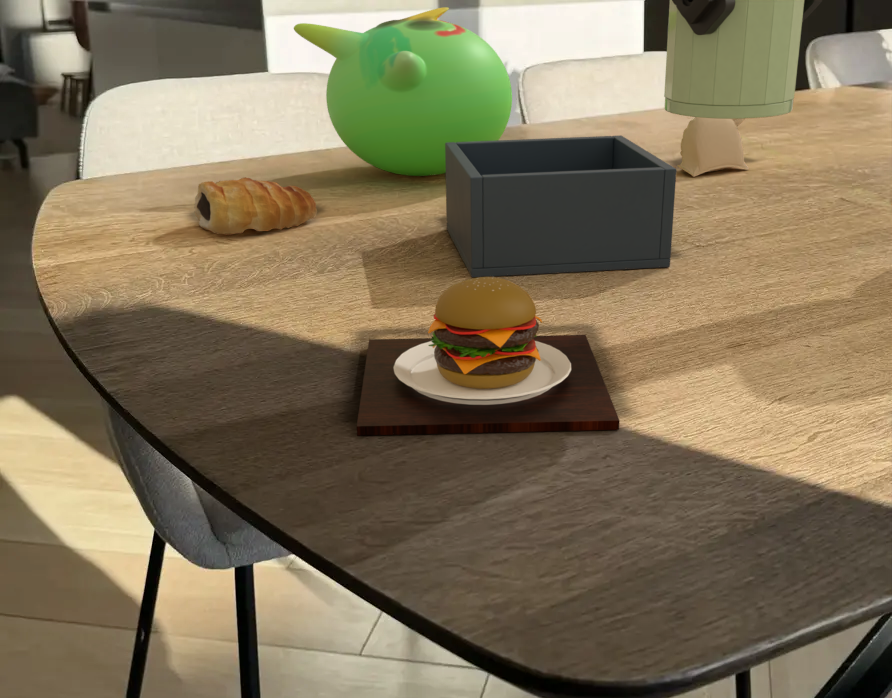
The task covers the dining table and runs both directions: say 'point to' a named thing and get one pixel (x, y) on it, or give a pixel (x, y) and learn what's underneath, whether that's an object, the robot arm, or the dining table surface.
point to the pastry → (251, 206)
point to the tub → (735, 62)
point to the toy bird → (412, 90)
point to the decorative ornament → (711, 145)
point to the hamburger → (483, 372)
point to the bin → (558, 205)
